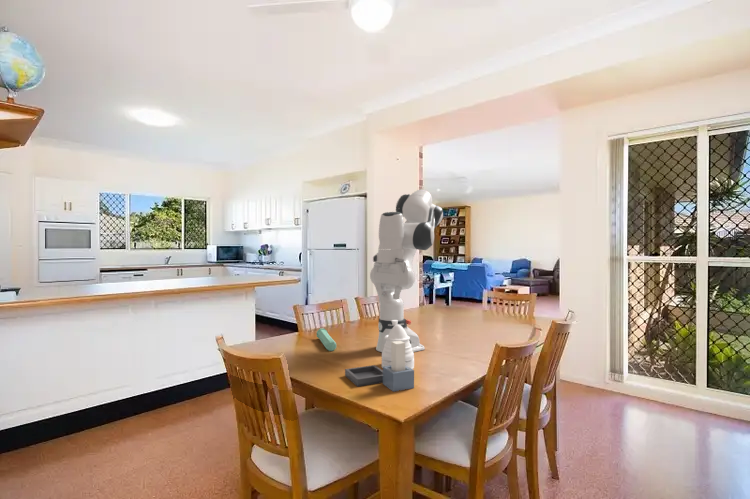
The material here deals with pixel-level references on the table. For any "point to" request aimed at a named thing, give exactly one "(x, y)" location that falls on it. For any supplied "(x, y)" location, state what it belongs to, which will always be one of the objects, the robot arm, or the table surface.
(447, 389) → the table surface
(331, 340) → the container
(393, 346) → the peg
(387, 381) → the socket
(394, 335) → the honey pot
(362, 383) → the tray
